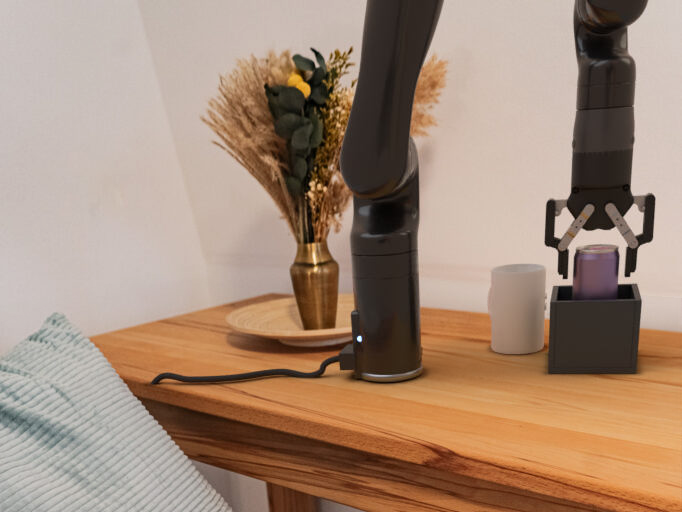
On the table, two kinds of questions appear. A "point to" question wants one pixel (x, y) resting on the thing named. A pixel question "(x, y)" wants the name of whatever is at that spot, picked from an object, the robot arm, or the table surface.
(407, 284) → the robot arm
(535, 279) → the mug
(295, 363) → the table surface
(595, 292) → the beverage can
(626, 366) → the waste bin
